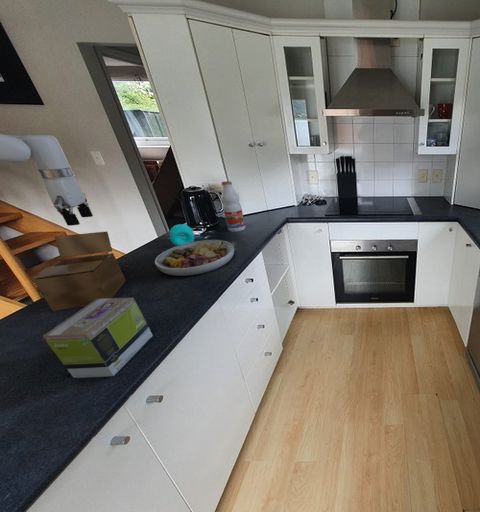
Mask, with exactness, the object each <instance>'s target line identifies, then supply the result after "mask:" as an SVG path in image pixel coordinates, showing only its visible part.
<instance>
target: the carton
mask: <svg viewBox="0 0 480 512" xmlns="http://www.w3.org/2000/svg"><path fill="white" fill-rule="evenodd" d="M83 262H84V263H83ZM95 268H96V269H95ZM94 269H95V270H94ZM93 270H94V271H93ZM88 271H93V272H88ZM122 271H123V270H122V269H121V267H120V265H119V263H118V261H117V258H116V256H115V254H114V252H109V253H100V254H92V255H83V256H77V257H76V256H75V257H69V258H68V257H67V258H61V259H59V260H58V261H56V263H54V264H53V265H51V266H46V267H45V268H43V269H42V270H40V271H39V272H38V273H36V274H35V275H34V276H32V277H31V279H32V281H33V283H34V285H35V286H36V288H37V289H38V291H39V292H40V294H41V295H42V297H43V298H44V300H45V302H46V303H47V305H48V306H49V308H50V309H51V311H52V312H58V311H64V310H70V309H75V308H81V307H82V308H83V307H86V306H87V305H88V304H90V303H91V302H93V301H94V300H96V299H97V298H98V299H106V298H114V296H116V294H117V292H118V291H119V290H120V289H121V287H122V286H123V285H124V283H125V282H126V281H127V280H126V278H125V276H124V273H123V272H122ZM81 272H87V273H81ZM79 273H80V274H79ZM47 295H48V296H47Z"/></svg>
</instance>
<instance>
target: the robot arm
mask: <svg viewBox="0 0 480 512" xmlns="http://www.w3.org/2000/svg"><path fill="white" fill-rule="evenodd" d="M65 154H66V153H64V150H63V148H62V146H61V144H60V142H59V140H58V138H57V137H56V136H55V135H51V134H26V135H14V134H4V133H0V161H3V162H9V163H22V162H25V161H27V160H29V159H30V158H31V159H32V161H33V163H34V164H35V167H36V169H37V170H38V172H39V174H40V176H41V178H42V179H43V182H44V186H45V189H46V191H47V194H48V196H49V199H50V201H51V203H52V204H53V207H54V208H55V209H56V210H57V212H58V213H59V214H60V215H61V216H62V218H63V220H64V222H65V224H66V225H67V226H69V227H70V226H79V225H80V224H81V222H80V220H79V218H78V217H77V214H76V213H74V208H76V209H77V211H78V213H79V215H80V217H81V218H92V217H93V216H94V215H93V213H92V210H91V208H90V206H89V203H88V199H87V197H86V194H85V192H83V190H82V188H81V186H80V185H79V183H78V182H77V180H76V179H75V177H76V175H75V174H74V172H73V169H72V167H71V165H70V163H69V160H68V159H67V157H66V155H65Z"/></svg>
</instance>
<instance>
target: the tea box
mask: <svg viewBox="0 0 480 512" xmlns="http://www.w3.org/2000/svg"><path fill="white" fill-rule="evenodd" d="M153 335H154V334H153V333H152V331H151V329H150V327H149V325H148V323H147V321H146V319H145V317H144V315H143V314H142V311H141V309H140V307H139V306H138V303H137V302H136V299H135V298H134V297H113V298H106V299H98V298H97V299H96V300H94V301H93V302H91V303H90V304H88V305H87V306H83V307H82V308H81V309H79V310H78V311H77V312H75V313H74V314H72V315H71V316H69V317H68V318H66V319H65V320H64V321H62V322H61V323H59V324H58V325H56V326H54V327H53V328H52V329H50V330H49V331H48V332H46V333H44V334H43V335H42V338H43V339H44V341H45V342H46V343H47V345H48V346H49V347H50V348H51V350H52V351H53V353H54V354H55V355H56V357H57V358H58V360H59V361H60V362H61V363H62V365H63V366H64V368H65V369H66V371H68V373H69V374H70V375H71V376H72V378H75V379H81V378H82V379H83V378H85V379H86V378H102V377H104V378H108V377H115V375H116V374H118V372H119V371H121V369H122V368H123V367H124V366H125V365H126V364H127V363H128V362H129V361H130V360H131V359H132V358H133V357H134V356H135V355H136V354H137V353H138V352H139V351H140V350H141V349H142V348H143V346H145V345H146V344H147V342H148V341H149V340H151V338H152V337H153Z"/></svg>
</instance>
